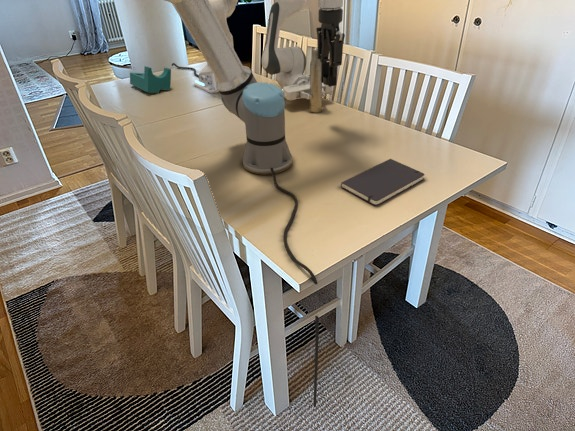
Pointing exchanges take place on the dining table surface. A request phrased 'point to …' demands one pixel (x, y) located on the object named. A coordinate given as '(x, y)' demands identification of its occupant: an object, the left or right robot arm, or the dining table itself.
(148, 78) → the green notched holder
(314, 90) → the bottle
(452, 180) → the dining table surface
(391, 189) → the notebook
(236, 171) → the dining table surface
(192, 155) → the dining table surface
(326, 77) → the cap
